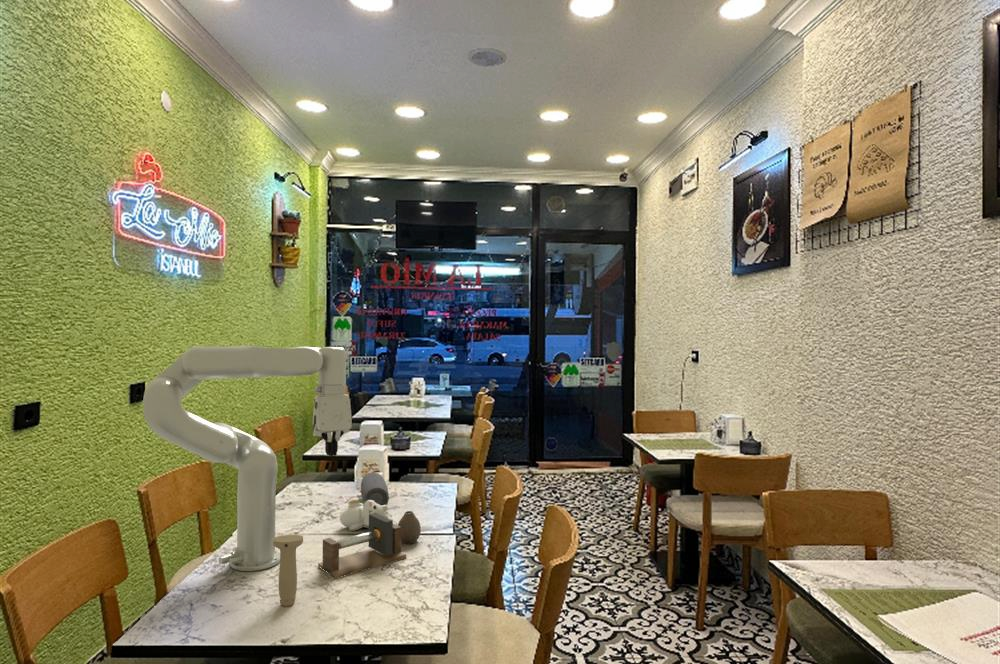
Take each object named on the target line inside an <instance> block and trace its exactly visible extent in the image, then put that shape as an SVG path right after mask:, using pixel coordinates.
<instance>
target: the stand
mask: <svg viewBox="0 0 1000 664" xmlns="http://www.w3.org/2000/svg"><path fill="white" fill-rule="evenodd" d="M404 559H407V554H406V553H405V552H402V542H401V527H400V526H398V524H395V523H393V537H392V554H390V555H384V554H382V553H380V552H378V551H376V550H374V549H372V548H369V549H365V550H362V551H361V550H360V551H356V552H354V553H350V554H347V555H346V554H345V555H343V556H340V549H339V542H337V541H335V539H333V538H331V537H327V538H323V539H322V561H320V562H318V563H317V567H318V566H319V567H321V568H322V569H324V570H325V571H327V572H328V573H330V574H331V575H330V574H329V575H330V576H332V575H333V576H334V577H333V576H332V577H333V578H335V577H336V578H337V579H339V578H338V577H340V578H342V577H341V576H343V577H345V576H344V575H347V576H349V575H348V574H350V575H352V574H351V573H353V574H356V573H355V572H357V573H359V572H358V571H360V572H362V570H364V571H366V570H365V569H367V570H369V569H368V568H370V569H373V568H372V567H374V568H377V567H380V566H383V565H387V564H390V563H395V562H397V561H400V560H404ZM376 566H377V567H376ZM319 567H318V568H319ZM321 568H320V569H321ZM322 569H321V570H322ZM324 570H323V571H324ZM325 571H324V572H325ZM327 572H326V573H327ZM328 573H327V574H328ZM336 578H335V579H336Z"/></svg>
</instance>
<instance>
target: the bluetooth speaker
mask: <svg viewBox="0 0 1000 664" xmlns="http://www.w3.org/2000/svg"><path fill="white" fill-rule="evenodd" d="M388 489H389V488H388V486H387V483H386V481H385V479H384V477H383V476H382V475H381V474H380V473H378V472H374V471H372V472H368V473H366V474H365V475H364V476H363V477H362V479H361V483H360V493H361V500H362V503H363V504H365V502H366V501H367V500H373V501H374V502H375V503H377V504H379V505H381V506H382V505H387V506H388V503H389V500H390V495H389V490H388Z"/></svg>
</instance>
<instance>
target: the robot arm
mask: <svg viewBox="0 0 1000 664" xmlns="http://www.w3.org/2000/svg"><path fill="white" fill-rule="evenodd" d="M315 374H317V375H318V381H317V382H318V383H317V386H315V387H313V391H314V393H317V395H316V396H315V400H314V404H313V411H312V412H313V413H312V429H313V432H312V435H313V436H314V437H319V438H322V439H323V441H324V442H325V447H324V448H325V449H324V450H325V451H324V452H325V453H326V456H329V457H334V456H337V454H338V453H337V452H338V450H339V448H338V447H339V441H340V440H341V439H340V438H341V437H342V436H343V435H344V434H348V433H349V432H350V431H351V429H352V424H353V422H352V420H353V419H352V409H351V406H352V405H351V401H350V396H349V394H346V392H347V391H346V389H347V388H346V387H347V385H346V384H347V351H346V349H345V348H344V347H341V346H324V347H314V346H313V347H312V346H307V345H301V346H296V347H266V346H259V345H231V346H230V345H229V346H226V345H223V346H219V345H218V346H202V345H200V346H199V345H198V346H197V345H196V346H192V347H190V348H188V349H187V350H186V351H184V352H183V353H182V355H180V356H179V357H178V358H177V359H176V360H175V361H174V362H172V363H171V364H170V365H169V366H168V367H165V369H164V370H163V371H161V373H159V374H158V375H157V376H156V377H154V378H153V379H152V380H151V381H150V382H149V383H148V384H147V386H146V388H145V390H144V392H143V401H142V410H143V411H142V412H143V416H144V417H143V418H144V420H145V422H146V424H147V426H148V427H149V428H150V430H151V432H153V433H154V434H155V435H157V436H158V437H160V438H161V439H163V440H164V441H165V440H166V442H169V443H170V444H173V445H175V446H177V447H180V448H182V449H183V450H186V451H188V452H190V453H192V454H195V455H197V456H199V457H201V458H202V459H205V460H206V461H209V462H211V463H217V464H220V463H221V464H222V463H224V464H226V465H228V466H230V467H233V468H236V469H237V472H238V473H237V475H238V476H237V477H238V478H237V493H236V494H237V495H236V496H237V498H236V499H237V500H236V501H237V502H236V505H237V510H236V511H237V512H236V513H237V515H236V516H237V521H236V524H237V525H236V526H237V527H236V530H237V531H236V547H234V548H233V549H232V551H231V552H230V553H229V554H227V555H226V554H225V555H223V556H219V557H218V564H219V565H220V566H221V565H225V564H227V563H228V564H229V565H230V567H231V568H232V569H233V570H236V571H241V572H255V571H261V570H262V571H263V570H266V569H269V568H272V567H274V566H276V565H278V564H280V552H278V551H277V550H276V547H275V546H274V545H273V539H274V538H275V537H276V507H277V506H276V504H277V503H276V499H277V498H276V496H277V495H276V494H277V493H276V492H277V477H278V460H277V456H276V454H275V452H274V451H273V449H272V448H271V447H270V446H269V444H268V443H266V442H264V441H263V440H261V439H259V438H258V437H255V436H253V435H251V434H249V433H247V432H244V431H242V430H240V429H238V428H237V427H234V426H232V425H229V424H227V423H224V422H211V421H209V420H207V419H205V418H202V417H200V416H199V415H196V414H194V413H193V412H190V411H188V410H186V409H185V407H183V405H182V403H183V402H182V400H183V398H184V397H185V396H186V395H187V394H189V393H190V392H191V391H192V390H193V389H194V388H195V387H197V386H198V385H199V384H200V383H201V382H202V381H203V380H220V379H222V380H224V379H248V378H249V379H251V378H255V379H257V378H267V377H294V376H299V377H300V376H311V375H315Z"/></svg>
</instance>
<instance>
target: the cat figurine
mask: <svg viewBox="0 0 1000 664" xmlns="http://www.w3.org/2000/svg"><path fill="white" fill-rule="evenodd" d="M347 504H348V506H347V507H348V508H346V509H344V510H343V511H342V512H341V514H340V516H339V521H340V524H341V525H343V527H346V528H348V529H349V531H350V532H355V531H358V530H360V529H361V528H365V529H369V514H373V513H376V514H378V515H381V516H383V517H385V518H388V519H389V517H388V515H387V514H386V513H385V512H386V511H387V510H388V504H387V505H382V506H381V505H379V504H377V503H375V502H374V501H373V500H367V501H366V502H365V504H364V503H363V499H362V498H358V499H357V498H355V499H352V500H350V501H348V503H347Z"/></svg>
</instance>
